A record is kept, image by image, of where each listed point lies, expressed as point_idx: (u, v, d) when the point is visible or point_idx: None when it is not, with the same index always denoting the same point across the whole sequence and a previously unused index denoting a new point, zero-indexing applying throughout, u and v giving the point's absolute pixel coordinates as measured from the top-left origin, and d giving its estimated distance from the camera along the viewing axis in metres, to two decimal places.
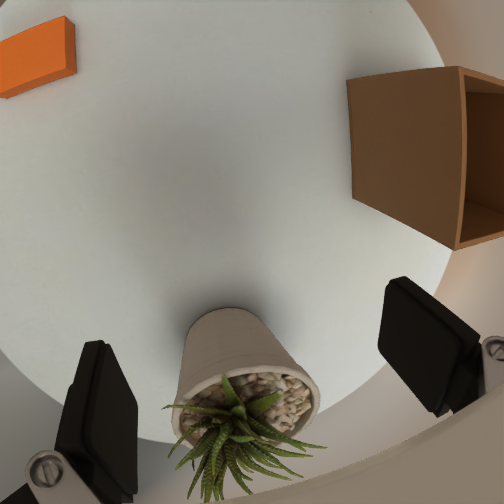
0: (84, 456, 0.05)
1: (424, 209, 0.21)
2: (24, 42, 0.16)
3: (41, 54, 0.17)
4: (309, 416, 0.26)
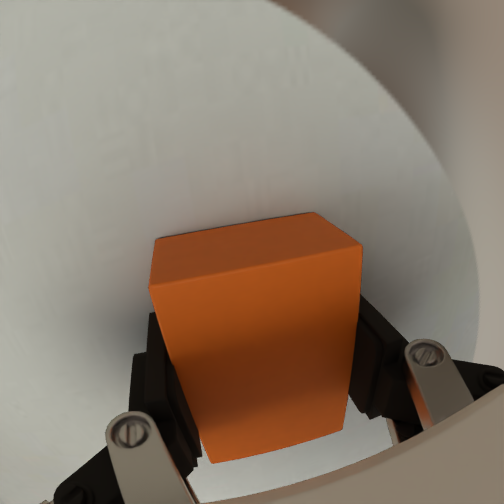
0: (166, 414, 0.06)
1: None
2: (317, 371, 0.09)
3: (260, 421, 0.09)
4: None
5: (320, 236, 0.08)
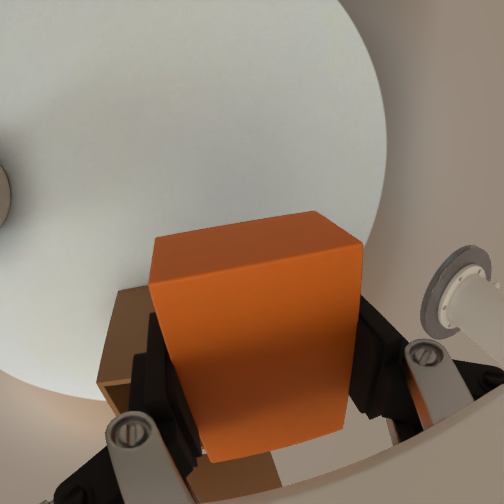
0: (166, 414, 0.06)
1: (122, 350, 0.24)
2: (317, 370, 0.09)
3: (261, 420, 0.09)
4: None
5: (320, 234, 0.08)
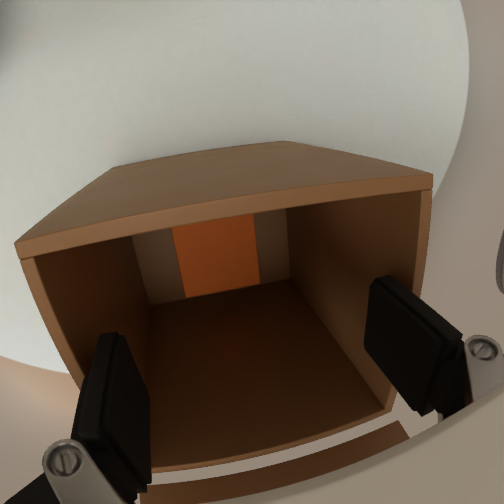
0: (102, 444, 0.06)
1: (102, 196, 0.10)
2: (236, 232, 0.20)
3: (210, 262, 0.20)
4: None
5: None
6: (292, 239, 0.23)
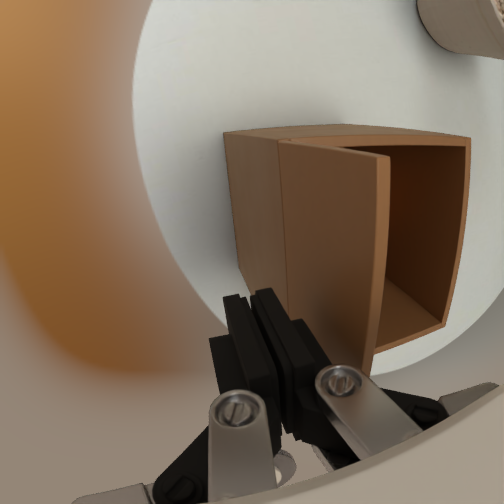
0: (266, 390, 0.07)
1: None
2: None
3: None
4: None
5: None
6: None
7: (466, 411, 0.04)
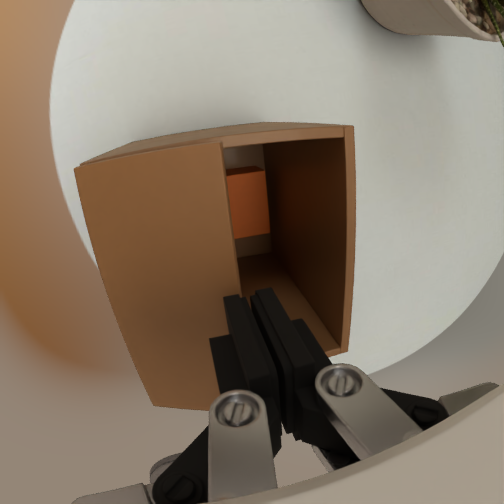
0: (266, 390, 0.07)
1: None
2: None
3: None
4: None
5: None
6: None
7: (466, 411, 0.04)
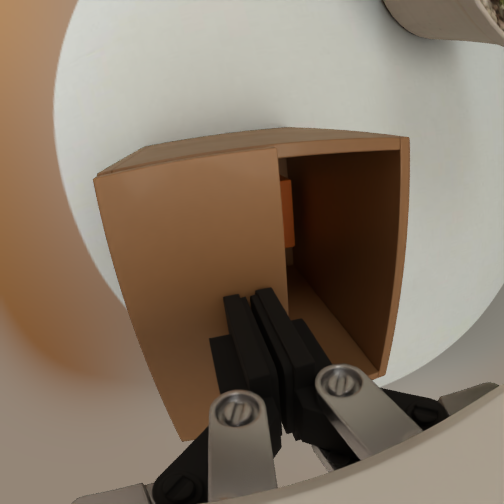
0: (265, 390, 0.07)
1: None
2: None
3: None
4: None
5: None
6: None
7: (466, 411, 0.04)
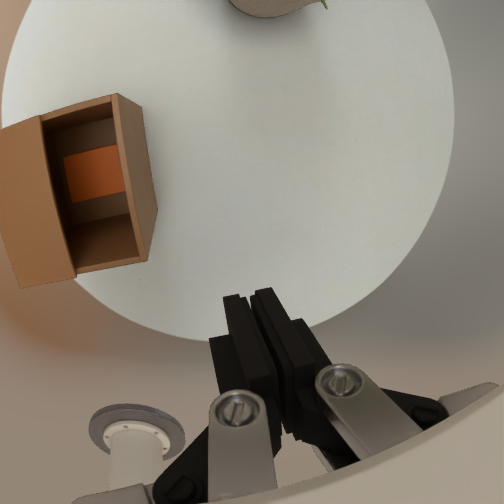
0: (266, 390, 0.07)
1: (128, 120, 0.21)
2: (102, 184, 0.30)
3: (84, 171, 0.29)
4: None
5: None
6: (98, 221, 0.33)
7: (466, 411, 0.04)
